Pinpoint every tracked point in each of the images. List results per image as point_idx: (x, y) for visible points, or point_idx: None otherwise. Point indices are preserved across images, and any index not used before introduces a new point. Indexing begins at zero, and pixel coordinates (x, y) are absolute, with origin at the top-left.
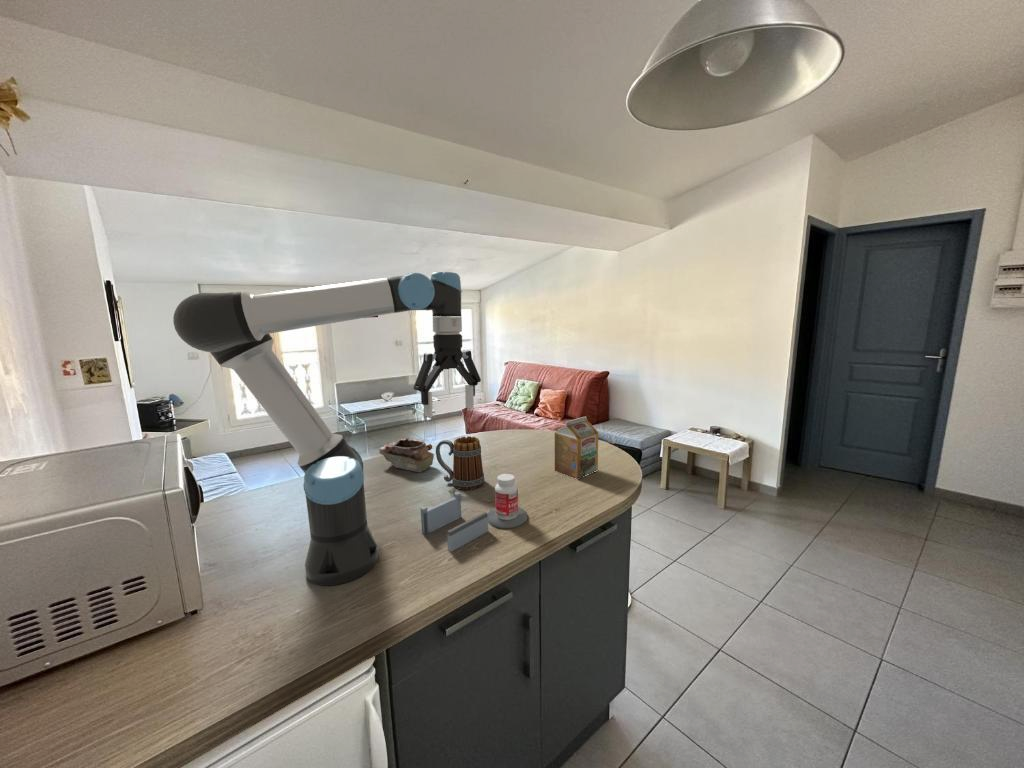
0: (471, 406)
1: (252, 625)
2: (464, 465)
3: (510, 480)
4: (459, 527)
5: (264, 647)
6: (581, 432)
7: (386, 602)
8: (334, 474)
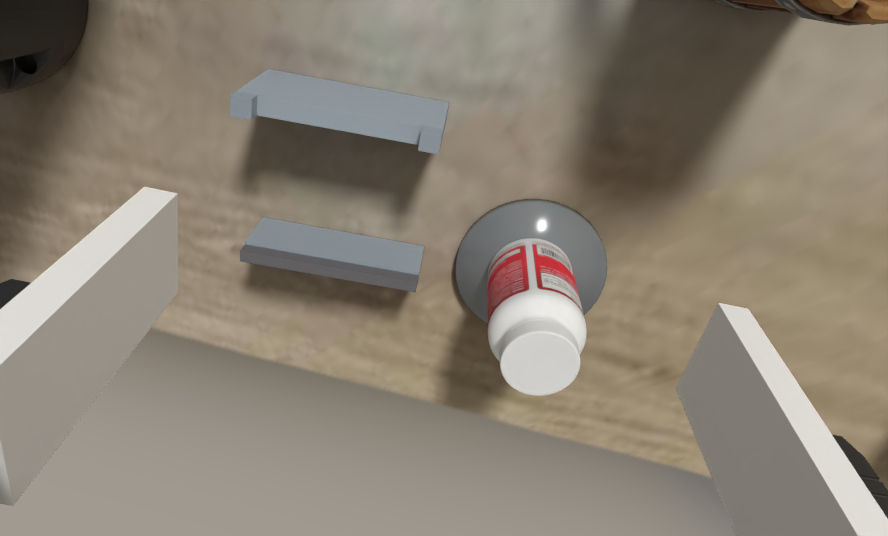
0: (684, 406)
1: None
2: None
3: (521, 391)
4: (283, 268)
5: None
6: None
7: (18, 229)
8: None
